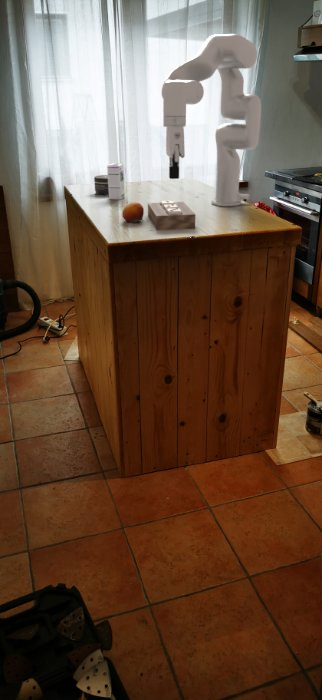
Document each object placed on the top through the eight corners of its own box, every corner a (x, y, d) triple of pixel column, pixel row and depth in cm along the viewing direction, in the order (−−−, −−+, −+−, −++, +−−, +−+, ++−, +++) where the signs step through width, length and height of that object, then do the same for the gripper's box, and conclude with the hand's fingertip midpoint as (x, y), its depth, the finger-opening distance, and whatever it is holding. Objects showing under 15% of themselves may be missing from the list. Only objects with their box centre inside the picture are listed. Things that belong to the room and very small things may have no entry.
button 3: (179, 213, 203) (179, 207, 202) (181, 216, 199) (181, 210, 198) (166, 214, 202) (166, 208, 201) (168, 217, 198) (168, 210, 197)
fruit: (140, 221, 204) (130, 201, 203) (125, 230, 209) (115, 210, 208) (152, 217, 210) (142, 197, 209) (137, 225, 215) (128, 206, 214)
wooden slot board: (183, 214, 219) (183, 201, 217) (195, 228, 200) (195, 214, 198) (148, 216, 217) (147, 203, 215) (156, 230, 198) (156, 215, 196)
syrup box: (121, 199, 246) (120, 165, 240) (108, 199, 247) (106, 164, 241) (124, 197, 251) (123, 163, 245) (112, 196, 252) (110, 163, 246)
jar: (101, 190, 265) (101, 174, 262) (120, 192, 261) (119, 175, 258) (90, 194, 257) (89, 177, 254) (109, 196, 253) (109, 178, 250)
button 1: (172, 205, 215) (172, 199, 214) (174, 208, 211) (174, 202, 210) (160, 206, 215) (160, 200, 214) (162, 208, 211) (162, 202, 210)
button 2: (175, 209, 209) (175, 203, 208) (177, 212, 205) (177, 206, 204) (163, 210, 209) (163, 204, 208) (165, 212, 205) (165, 206, 204)
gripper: (190, 123, 181) (188, 181, 189) (181, 120, 194) (180, 174, 202) (167, 123, 180) (167, 182, 188) (160, 120, 193) (160, 175, 201)
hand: (174, 178), depth 195 cm, fingers closed
